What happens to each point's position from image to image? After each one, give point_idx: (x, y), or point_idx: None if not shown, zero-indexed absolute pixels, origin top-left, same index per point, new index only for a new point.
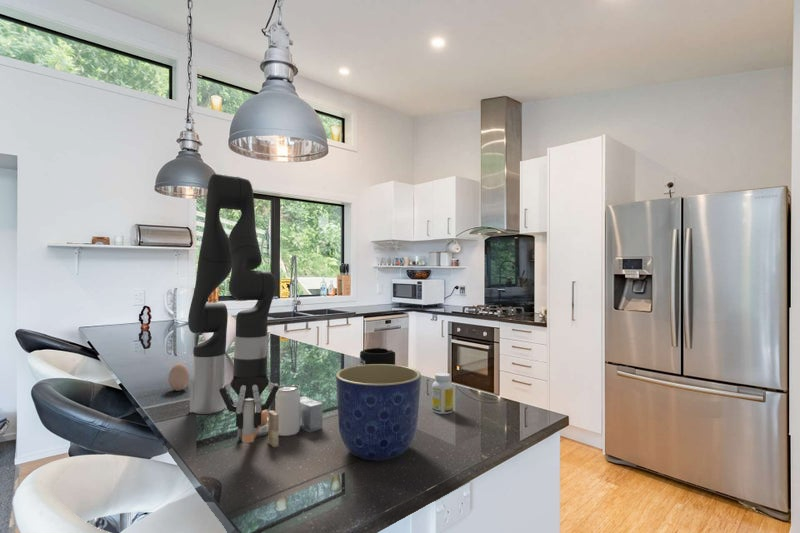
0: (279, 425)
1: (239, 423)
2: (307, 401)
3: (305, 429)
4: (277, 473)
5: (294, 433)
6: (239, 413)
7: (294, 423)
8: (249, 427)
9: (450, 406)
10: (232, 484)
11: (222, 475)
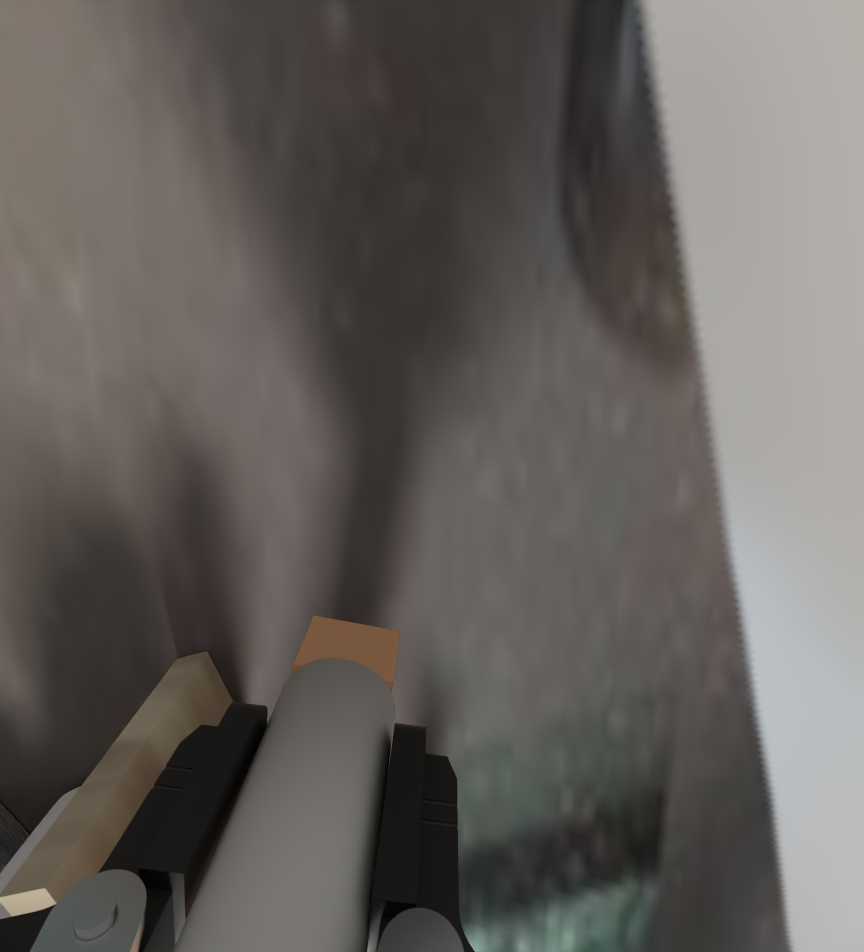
0: None
1: (416, 775)
2: None
3: (14, 827)
4: (153, 221)
5: (76, 788)
6: (410, 911)
7: (23, 856)
8: (312, 710)
9: None
10: (483, 150)
11: (544, 340)
